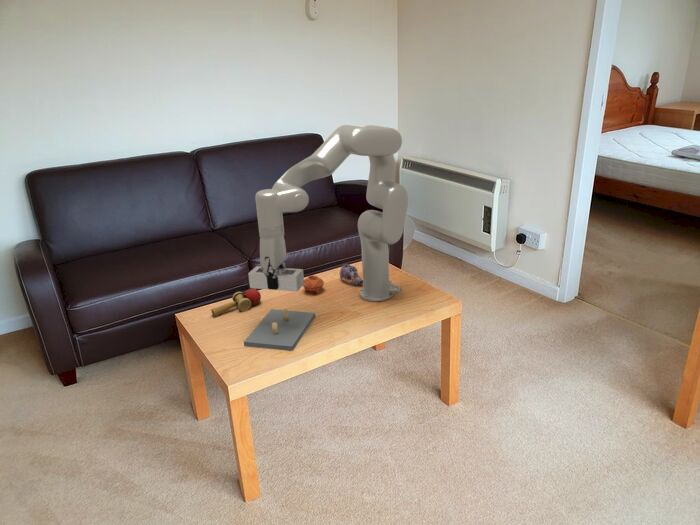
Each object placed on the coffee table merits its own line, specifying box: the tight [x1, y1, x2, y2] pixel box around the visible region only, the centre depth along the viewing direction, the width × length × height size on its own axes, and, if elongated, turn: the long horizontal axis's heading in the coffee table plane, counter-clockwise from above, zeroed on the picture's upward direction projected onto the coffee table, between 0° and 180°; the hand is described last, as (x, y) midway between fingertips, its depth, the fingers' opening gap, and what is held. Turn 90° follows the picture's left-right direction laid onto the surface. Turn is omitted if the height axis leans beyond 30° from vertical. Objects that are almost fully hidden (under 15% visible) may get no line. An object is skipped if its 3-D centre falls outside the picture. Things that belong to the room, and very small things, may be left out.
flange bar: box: [247, 265, 305, 293], centre depth 163 cm, size 16×6×5 cm, turn 74°
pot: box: [302, 274, 325, 295], centre depth 194 cm, size 8×8×7 cm
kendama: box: [210, 288, 262, 318], centre depth 184 cm, size 8×6×18 cm
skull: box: [338, 264, 363, 287], centre depth 200 cm, size 12×8×6 cm, turn 25°
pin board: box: [243, 308, 316, 352], centre depth 168 cm, size 16×22×5 cm
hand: (277, 284), depth 164 cm, fingers closed on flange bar, 6 cm apart
